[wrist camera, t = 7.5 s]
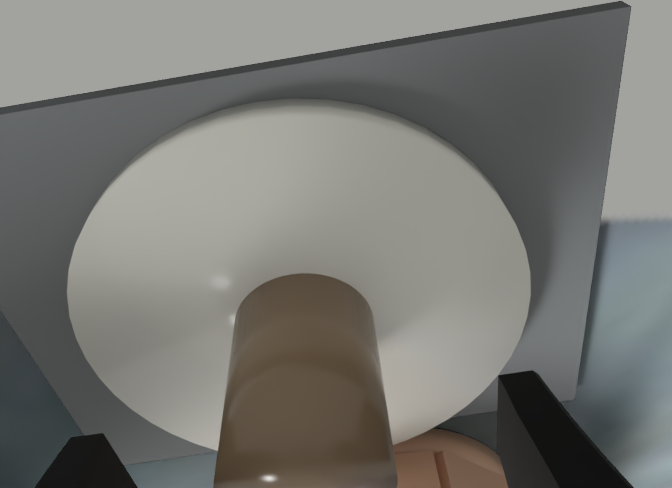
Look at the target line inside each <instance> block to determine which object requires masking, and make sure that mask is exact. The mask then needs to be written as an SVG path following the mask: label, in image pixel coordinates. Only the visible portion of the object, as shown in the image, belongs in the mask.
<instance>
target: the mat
mask: <svg viewBox="0 0 672 488" xmlns="http://www.w3.org/2000/svg"><path fill="white" fill-rule="evenodd" d="M630 11H631V6H630V5H628V4H626V3H624V2H622V1H618V2H613V3H607V4H601V5H595V6H589V7H583V8H577V9H572V10H566V11H560V12H554V13H548V14H543V15H537V16H531V17H525V18H519V19H513V20H508V21H502V22H496V23H490V24H484V25H479V26H473V27H467V28H462V29H455V30H449V31H444V32H438V33H432V34H426V35H421V36H415V37H409V38H403V39H397V40H391V41H386V42H380V43H374V44H368V45H362V46H356V47H351V48H345V49H339V50H334V51H328V52H322V53H316V54H310V55H304V56H298V57H293V58H287V59H281V60H275V61H269V62H264V63H258V64H252V65H246V66H240V67H234V68H229V69H223V70H217V71H211V72H206V73H200V74H194V75H188V76H182V77H176V78H170V79H165V80H159V81H153V82H147V83H141V84H136V85H130V86H124V87H118V88H113V89H106V90H101V91H95V92H89V93H83V94H77V95H71V96H66V97H60V98H54V99H48V100H42V101H37V102H31V103H25V104H19V105H13V106H8V107H2V108H0V311H1V312H2V314H3V315H4V317H5V318H6V320H7V321H8V323H9V324H10V326H11V327H12V329H13V330H14V332H15V333H16V335H17V336H18V338H19V339H20V340H21V342H22V343H23V345H24V346H25V348H26V349H27V351H28V352H29V354H30V355H31V357H32V358H33V360H34V361H35V363H36V364H37V366H38V367H39V369H40V370H41V372H42V373H43V375H44V376H45V378H46V379H47V381H48V382H49V384H50V385H51V387H52V388H53V390H54V391H55V393H56V394H57V396H58V397H59V399H60V400H61V402H62V403H63V405H64V406H65V408H66V409H67V411H68V412H69V414H70V415H71V417H72V418H73V420H74V421H75V423H76V424H77V426H78V427H79V428H80V430H81V431H82V433H83V434H84V436H85V435H92V434H99V433H103V434H104V435H105V437H106V438H107V440H108V442H109V443H110V445H111V446H112V448H113V449H114V451H115V453H116V454H117V456H118V457H119V459H120V461H121V462H122V464H123V465H130V464H137V463H144V462H151V461H158V460H164V459H171V458H178V457H185V456H192V455H199V454H206V453H213V452H218V451H216V450H213V449H210V448H207V447H204V446H201V445H198V444H194V443H192V442H190V441H187V440H185V439H182V438H180V437H178V436H175V435H173V434H171V433H169V432H167V431H165V430H163V429H162V428H160V427H158V426H156V425H154V424H152V423H151V422H149V421H148V420H146V419H145V418H143V417H142V416H140V415H139V414H137V413H136V412H134V411H133V410H132V409H130V408H129V407H128V406H127V405H126V404H125V403H123V402H122V401H121V400H120V399H119V398H118V397H116V396H115V395H114V394H113V393H112V392H111V391H110V389H109V388H108V387H107V386H106V385H105V384H104V383H103V382H102V381H101V380H100V378H99V377H98V376H97V374H96V373H95V371H94V370H93V368H92V367H91V366H90V364H89V363H88V361H87V360H86V358H85V356H84V354H83V352H82V350H81V348H80V346H79V344H78V342H77V339H76V337H75V333H74V330H73V327H72V323H71V320H70V317H69V308H68V299H67V284H68V270H69V265H70V262H71V258H72V254H73V250H74V247H75V244H76V241H77V239H78V237H79V235H80V233H81V231H82V229H83V227H84V225H85V223H86V220H87V219H88V217H89V215H90V213H91V211H92V209H93V207H94V206H95V204H96V202H97V200H98V198H99V197H100V196H101V194H102V193H103V191H104V190H105V189H106V187H107V186H108V184H109V183H110V181H111V180H112V179H113V177H114V176H115V175H116V174H117V173H118V172H119V171H120V170H121V169H122V168H123V167H124V166H125V165H126V164H127V163H128V162H129V161H130V160H131V159H132V158H133V157H134V156H135V155H136V154H138V153H139V152H140V151H142V150H143V149H144V148H146V147H147V146H148V145H150V144H151V143H152V142H154V141H155V140H157V139H158V138H159V137H161V136H163V135H165V134H166V133H168V132H170V131H172V130H174V129H176V128H178V127H180V126H181V125H183V124H185V123H187V122H189V121H192V120H194V119H197V118H200V117H202V116H205V115H208V114H211V113H213V112H216V111H219V110H222V109H226V108H230V107H235V106H239V105H244V104H248V103H252V102H258V101H268V100H279V99H289V98H300V99H329V100H335V101H342V102H348V103H354V104H361V105H365V106H368V107H372V108H375V109H379V110H382V111H386V112H389V113H392V114H396V115H398V116H400V117H403V118H405V119H407V120H409V121H412V122H414V123H416V124H418V125H421V126H423V127H425V128H427V129H428V130H430V131H432V132H433V133H435V134H437V135H438V136H440V137H441V138H443V139H445V140H446V141H448V142H449V143H451V144H452V145H454V146H455V147H456V148H457V149H458V150H460V151H461V152H462V153H463V154H464V155H465V156H467V157H468V158H469V159H470V160H471V161H473V162H474V163H475V164H476V166H477V167H478V168H479V169H480V170H481V171H482V173H483V174H484V175H485V176H486V177H487V178H488V179H489V181H490V182H491V183H492V184H493V186H494V188H495V189H496V191H497V192H498V194H499V196H500V197H501V199H502V201H503V202H504V204H505V206H506V207H507V209H508V211H509V213H510V215H511V217H512V218H513V220H514V222H515V224H516V226H517V228H518V231H519V233H520V236H521V238H522V241H523V243H524V246H525V249H526V253H527V258H528V263H529V268H530V279H531V297H530V303H529V310H528V316H527V320H526V323H525V326H524V329H523V332H522V335H521V338H520V340H519V342H518V344H517V346H516V348H515V350H514V351H513V353H512V355H511V357H510V359H509V360H508V362H507V363H506V365H505V366H504V367H503V369H502V370H501V372H500V373H499V374H498V375H503V374H510V373H517V372H524V371H530V370H533V371H535V372H536V373H538V374H539V375H540V377H541V378H542V380H543V381H544V382H545V384H546V385H547V386H548V388H549V389H550V390H551V392H552V393H553V394H554V395H555V397H556V398H557V399H558V401H559V402H563V401H570V400H575V395H576V388H577V381H578V374H579V367H580V360H581V353H582V346H583V339H584V332H585V325H586V318H587V311H588V304H589V297H590V290H591V283H592V276H593V269H594V262H595V255H596V248H597V241H598V234H599V227H600V221H601V214H602V206H603V200H604V193H605V185H606V178H607V171H608V165H609V157H610V151H611V144H612V137H613V130H614V123H615V116H616V109H617V102H618V95H619V88H620V81H621V74H622V67H623V60H624V52H625V47H626V40H627V33H628V26H629V19H630ZM497 404H498V376H497V377H496V378H495V379H494V380H493V381H492V382H491V384H490V385H489V386H488V387H487V388H486V389H485V390H484V391H483V392H482V393H481V394H480V395H479V396H478V397H476V398H475V399H474V400H473V401H472V402H471V403H470V404H468V405H467V406H466V407H465V408H463V409H462V410H460V411H459V412H458V413H456V414H455V415H453V416H452V417H450V418H453V417H460V416H467V415H474V414H480V413H487V412H494V411H497Z"/></svg>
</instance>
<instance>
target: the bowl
mask: <svg viewBox="0 0 672 488" xmlns="http://www.w3.org/2000/svg"><path fill="white" fill-rule="evenodd" d="M393 450H394V457H395V463H396V470H397V477H398V484H397V488H508V485H507V481H506V478H505V474H504V470H503V466H502V463H501V459H500V456H499V455H498V454H497V453H496V452H495V451H493V450H492V449H491V448H489V447H488V446H486V445H484V444H483V443H481V442H479V441H477V440H475V439H473V438H470V437H467V436H465V435H462V434H459V433H455V432H451V431H447V430H442V429H436V428H432V429H430V430H428V431H426V432H424V433H422V434H420V435H417V436H415V437H413V438H411V439H408V440H406V441H403V442H400V443H398V444H395V445H393Z"/></svg>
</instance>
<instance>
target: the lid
mask: <svg viewBox="0 0 672 488" xmlns="http://www.w3.org/2000/svg"><path fill="white" fill-rule="evenodd" d="M530 297H531V279H530V268H529V263H528V258H527V253H526V249H525V246H524V243H523V241H522V238H521V236H520V233H519V231H518V228H517V226H516V224H515V222H514V220H513V218H512V217H511V215H510V213H509V211H508V209H507V207H506V206H505V204H504V202H503V201H502V199H501V197H500V196H499V194H498V192H497V191H496V189H495V188H494V186H493V184H492V183H491V182H490V181H489V179H488V178H487V177H486V176H485V175H484V174H483V173H482V171H481V170H480V169H479V168H478V167H477V166H476V164H475V163H474V162H473V161H471V160H470V159H469V158H468V157H467V156H465V155H464V154H463V153H462V152H461V151H460V150H458V149H457V148H456V147H455V146H454V145H452V144H451V143H449V142H448V141H446V140H445V139H443V138H441V137H440V136H438V135H437V134H435V133H433V132H432V131H430V130H428V129H427V128H425V127H423V126H421V125H418V124H416V123H414V122H412V121H409V120H407V119H405V118H403V117H400V116H398V115H396V114H392V113H389V112H386V111H382V110H379V109H375V108H372V107H368V106H365V105H361V104H354V103H348V102H342V101H335V100H329V99H300V98H289V99H279V100H268V101H258V102H252V103H248V104H244V105H239V106H235V107H230V108H226V109H222V110H219V111H216V112H213V113H211V114H208V115H205V116H202V117H200V118H197V119H194V120H192V121H189V122H187V123H185V124H183V125H181V126H180V127H178V128H176V129H174V130H172V131H170V132H168V133H166V134H165V135H163V136H161V137H159V138H158V139H157V140H155V141H154V142H152V143H151V144H150V145H148V146H147V147H146V148H144V149H143V150H142V151H140V152H139V153H138V154H136V155H135V156H134V157H133V158H132V159H131V160H130V161H129V162H128V163H127V164H126V165H125V166H124V167H123V168H122V169H121V170H120V171H119V172H118V173H117V174H116V175H115V176H114V177H113V179H112V180H111V181H110V183H109V184H108V186H107V187H106V189H105V190H104V191H103V193H102V194H101V196H100V197H99V198H98V200H97V202H96V204H95V206H94V207H93V209H92V211H91V213H90V215H89V217H88V219H87V220H86V223H85V225H84V227H83V229H82V231H81V233H80V235H79V237H78V239H77V241H76V244H75V247H74V250H73V254H72V258H71V262H70V265H69V270H68V284H67V299H68V308H69V317H70V320H71V323H72V327H73V330H74V333H75V337H76V339H77V342H78V344H79V346H80V348H81V350H82V352H83V354H84V356H85V358H86V360H87V361H88V363H89V364H90V366H91V367H92V368H93V370H94V371H95V373H96V374H97V376H98V377H99V378H100V380H101V381H102V382H103V383H104V384H105V385H106V386H107V387H108V388H109V389H110V391H111V392H112V393H113V394H114V395H115V396H116V397H118V398H119V399H120V400H121V401H122V402H123V403H125V404H126V405H127V406H128V407H129V408H130V409H132V410H133V411H134V412H136V413H137V414H139V415H140V416H142V417H143V418H145V419H146V420H148V421H149V422H151V423H152V424H154V425H156V426H158V427H160V428H162V429H163V430H165V431H167V432H169V433H171V434H173V435H175V436H178V437H180V438H182V439H185V440H187V441H190V442H192V443H194V444H198V445H201V446H204V447H207V448H210V449H213V450H216V451H218V454H217V462H216V470H215V477H214V486H213V487H214V488H397V484H398V477H397V470H396V463H395V457H394V450H393V445H395V444H398V443H400V442H403V441H406V440H408V439H411V438H413V437H415V436H417V435H420V434H422V433H424V432H426V431H428V430H430V429H432V428H434V427H435V426H437V425H439V424H441V423H442V422H444V421H446V420H448V419H449V418H450V417H452V416H453V415H455V414H456V413H458V412H459V411H460V410H462V409H463V408H465V407H466V406H467V405H468V404H470V403H471V402H472V401H473V400H474V399H475V398H476V397H478V396H479V395H480V394H481V393H482V392H483V391H484V390H485V389H486V388H487V387H488V386H489V385H490V384H491V382H492V381H493V380H494V379H495V378H496V377H497V376H498V374H499V373H500V372H501V370H502V369H503V367H504V366H505V365H506V363H507V362H508V360H509V359H510V357H511V355H512V353H513V351H514V350H515V348H516V346H517V344H518V342H519V340H520V338H521V335H522V332H523V329H524V326H525V323H526V320H527V316H528V310H529V303H530Z"/></svg>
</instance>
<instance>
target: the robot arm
mask: <svg viewBox="0 0 672 488" xmlns="http://www.w3.org/2000/svg"><path fill="white" fill-rule="evenodd" d="M497 448H498V451H499V455H500V459H501V463H502V466H503V470H504V474H505V478H506V481H507V485H508V488H633V486H632V485H631V484H630V483H629V482H628V481H627V480H626V479H625V478H624V477H623V475H622V474H621V473H620V472H619V471H618V470H617V469H616V468H615V467H614V466H613V464H612V463H611V462H610V461H609V460H608V459H607V458H606V457H605V456H604V455H603V453H602V452H601V451H600V450H599V449H598V448H597V447H596V445H595V444H594V443H593V442H592V441H591V440H590V438H589V437H588V436H587V435H586V434H585V432H584V431H583V430H582V429H581V428H580V426H579V425H578V424H577V423H576V422H575V421H574V419H573V418H572V417H571V416H570V414H569V413H568V412H567V411H566V409H565V408H564V407H563V406H562V404H561V403H560V402H559V401H558V399H557V398H556V397H555V395H554V394H553V393H552V392H551V390H550V389H549V388H548V386H547V385H546V384H545V382H544V381H543V380H542V378H541V377H540V375H539V374H538V373H536V372H535V371H533V370H530V371H524V372H517V373H510V374H503V375H498V404H497ZM35 488H137V486H136V484H135V483H134V481H133V480H132V478H131V476H130V475H129V473H128V472H127V470H126V469H125V467H124V465H123V464H122V462H121V461H120V459H119V457H118V456H117V454H116V453H115V451H114V449H113V448H112V446H111V445H110V443H109V442H108V440H107V438H106V437H105V435H104V434H103V433H99V434H92V435H85V436H78V437H71V438H70V439H69V441H68V442H67V444H66V445H65V446H64V448H63V449H62V450H61V452H60V453H59V454H58V456H57V457H56V458H55V460H54V461H53V463H52V464H51V465H50V467H49V468H48V470H47V471H46V472H45V474H44V475H43V477H42V478H41V479H40V481H39V482H38V484H37V485H36V486H35Z"/></svg>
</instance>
